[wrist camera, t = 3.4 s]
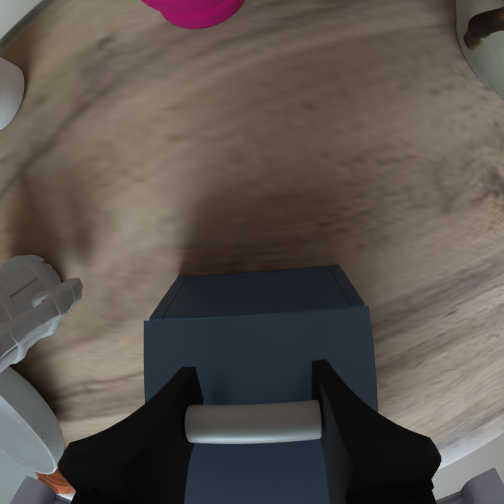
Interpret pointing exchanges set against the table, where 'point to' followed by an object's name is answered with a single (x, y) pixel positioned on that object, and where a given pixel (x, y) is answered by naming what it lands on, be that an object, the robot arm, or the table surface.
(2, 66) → the cup
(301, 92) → the table surface
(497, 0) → the sugar bowl
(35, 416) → the cereal bowl
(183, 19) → the pepper mill
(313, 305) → the compartment
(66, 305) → the mug
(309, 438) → the lid
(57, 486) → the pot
